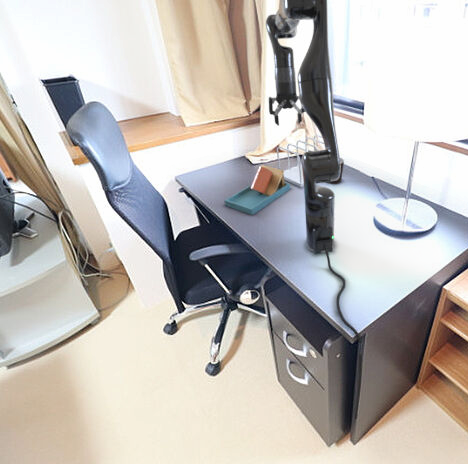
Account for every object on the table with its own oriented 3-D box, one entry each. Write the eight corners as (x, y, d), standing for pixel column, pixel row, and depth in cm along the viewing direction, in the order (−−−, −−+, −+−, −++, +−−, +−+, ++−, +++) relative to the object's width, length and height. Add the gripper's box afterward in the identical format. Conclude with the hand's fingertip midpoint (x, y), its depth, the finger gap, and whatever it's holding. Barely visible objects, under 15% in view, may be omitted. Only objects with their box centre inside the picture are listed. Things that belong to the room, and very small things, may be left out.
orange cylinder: (260, 200, 134) (256, 174, 127) (248, 196, 136) (244, 171, 130) (276, 189, 142) (274, 164, 135) (265, 185, 144) (262, 161, 138)
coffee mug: (346, 179, 150) (347, 159, 144) (337, 186, 144) (338, 165, 138) (325, 173, 155) (325, 154, 149) (316, 180, 149) (315, 160, 143)
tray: (252, 215, 126) (251, 209, 124) (225, 205, 132) (224, 200, 130) (290, 188, 143) (289, 183, 142) (265, 181, 150) (264, 176, 148)
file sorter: (315, 161, 168) (314, 132, 159) (339, 171, 157) (339, 140, 148) (277, 176, 154) (274, 145, 145) (300, 188, 144) (299, 155, 135)
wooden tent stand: (272, 198, 136) (270, 177, 131) (251, 191, 141) (248, 171, 136) (285, 189, 143) (284, 169, 137) (265, 183, 148) (262, 164, 142)
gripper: (267, 82, 114) (271, 128, 123) (306, 80, 116) (307, 125, 125) (265, 79, 120) (269, 122, 129) (302, 76, 122) (304, 120, 131)
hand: (288, 124), depth 127 cm, fingers open, 8 cm apart
